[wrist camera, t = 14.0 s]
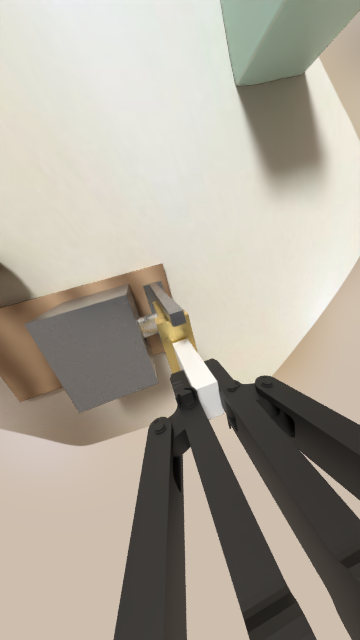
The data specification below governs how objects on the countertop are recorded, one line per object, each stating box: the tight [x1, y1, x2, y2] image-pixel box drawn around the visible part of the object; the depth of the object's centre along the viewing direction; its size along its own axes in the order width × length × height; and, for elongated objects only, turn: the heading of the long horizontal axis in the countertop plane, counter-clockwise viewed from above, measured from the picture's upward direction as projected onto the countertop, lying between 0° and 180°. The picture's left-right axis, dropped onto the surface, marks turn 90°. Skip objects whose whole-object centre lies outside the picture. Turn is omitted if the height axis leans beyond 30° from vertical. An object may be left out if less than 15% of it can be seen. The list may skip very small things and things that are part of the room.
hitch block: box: [24, 281, 186, 413], centre depth 21 cm, size 15×12×18 cm
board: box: [0, 264, 172, 402], centre depth 29 cm, size 29×15×1 cm, turn 105°
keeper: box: [153, 301, 197, 374], centre depth 21 cm, size 3×7×9 cm, turn 15°
